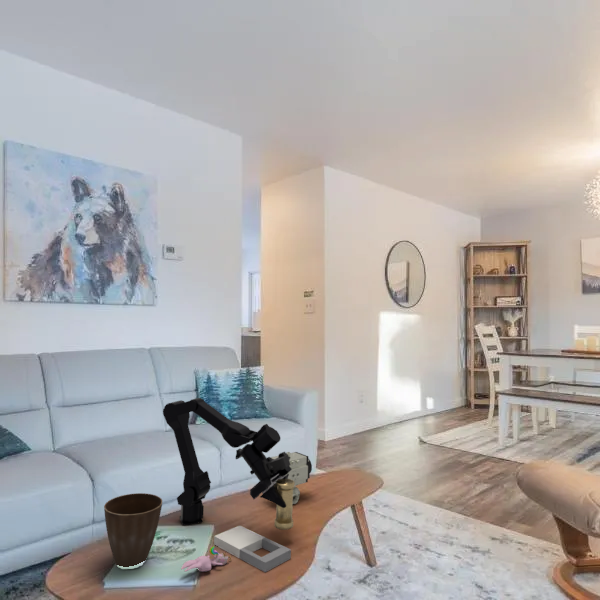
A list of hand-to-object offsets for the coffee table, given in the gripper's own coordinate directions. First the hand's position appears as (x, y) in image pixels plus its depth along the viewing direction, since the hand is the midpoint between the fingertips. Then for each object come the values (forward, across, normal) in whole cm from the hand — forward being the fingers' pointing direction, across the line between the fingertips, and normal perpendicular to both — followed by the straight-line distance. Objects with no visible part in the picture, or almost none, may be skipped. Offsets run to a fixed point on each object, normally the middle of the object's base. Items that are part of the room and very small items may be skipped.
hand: (288, 504), depth 142 cm
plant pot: (-15, -29, +32) cm, 46 cm away
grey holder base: (+2, -9, +14) cm, 17 cm away
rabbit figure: (-1, -23, +18) cm, 29 cm away
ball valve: (0, +29, +17) cm, 33 cm away
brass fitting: (+4, 0, +6) cm, 7 cm away
